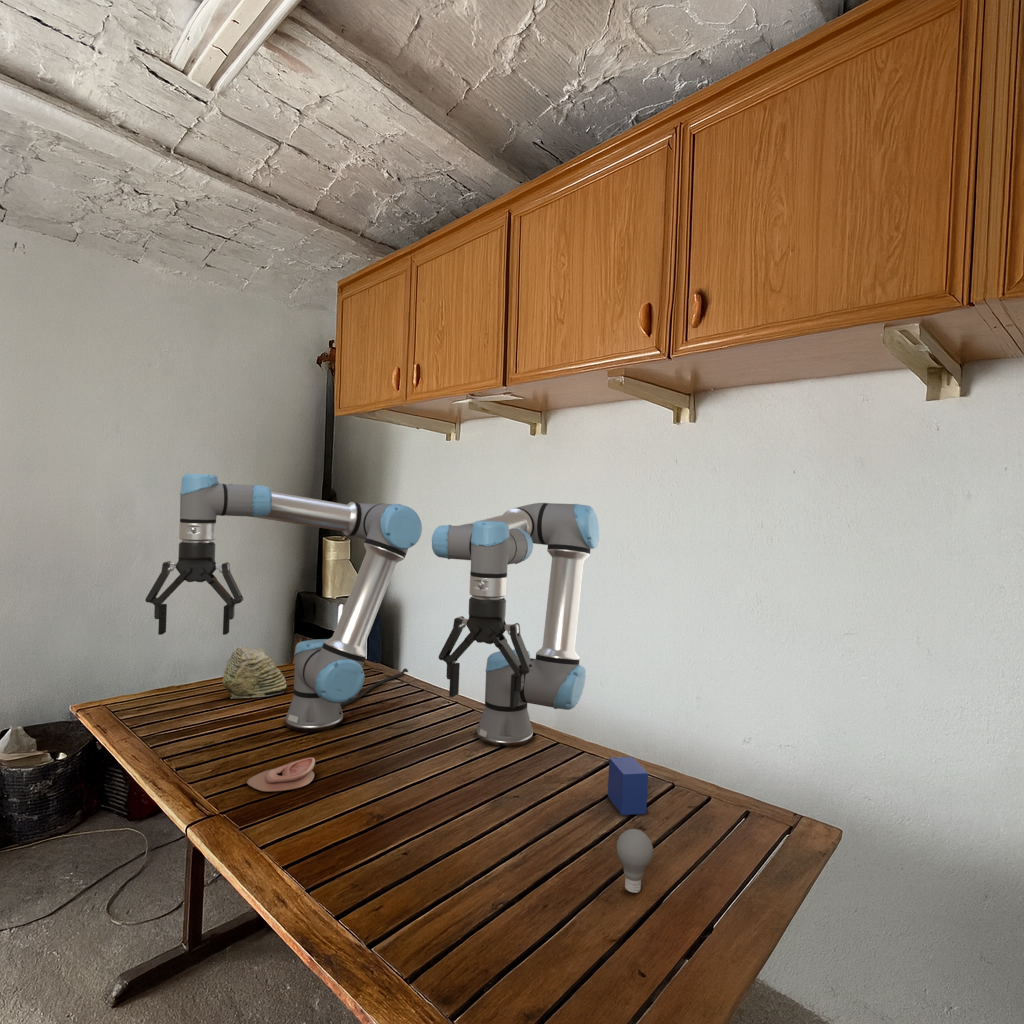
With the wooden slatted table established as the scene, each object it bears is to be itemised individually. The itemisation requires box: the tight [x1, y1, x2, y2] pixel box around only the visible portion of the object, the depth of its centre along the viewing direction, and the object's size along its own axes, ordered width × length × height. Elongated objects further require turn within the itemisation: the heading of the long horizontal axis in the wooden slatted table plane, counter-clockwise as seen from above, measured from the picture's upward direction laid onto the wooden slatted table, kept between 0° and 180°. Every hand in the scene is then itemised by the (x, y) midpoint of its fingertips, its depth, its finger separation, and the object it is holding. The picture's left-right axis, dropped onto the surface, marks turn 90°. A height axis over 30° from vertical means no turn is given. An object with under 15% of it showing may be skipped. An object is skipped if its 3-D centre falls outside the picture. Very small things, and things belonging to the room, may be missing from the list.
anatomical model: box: [246, 757, 316, 792], centre depth 140 cm, size 13×4×12 cm
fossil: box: [222, 646, 288, 699], centre depth 198 cm, size 9×18×15 cm, turn 132°
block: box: [607, 756, 649, 816], centre depth 136 cm, size 8×6×9 cm, turn 11°
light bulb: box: [615, 828, 654, 894], centre depth 106 cm, size 6×6×10 cm
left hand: (194, 633), depth 146 cm, fingers open, 13 cm apart
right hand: (483, 700), depth 129 cm, fingers open, 13 cm apart
